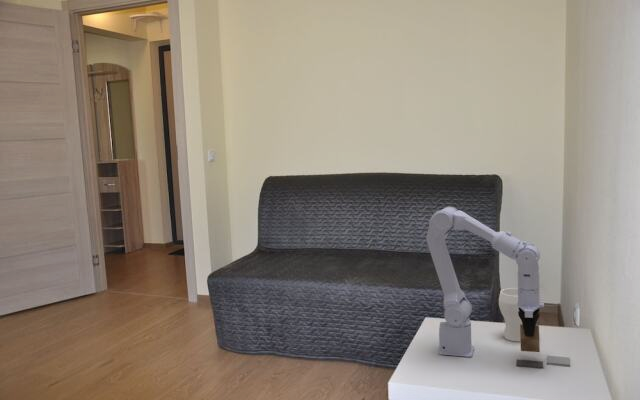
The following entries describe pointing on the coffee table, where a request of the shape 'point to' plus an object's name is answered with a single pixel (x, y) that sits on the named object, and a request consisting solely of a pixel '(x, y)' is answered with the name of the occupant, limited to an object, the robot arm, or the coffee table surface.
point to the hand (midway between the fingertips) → (529, 334)
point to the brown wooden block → (530, 340)
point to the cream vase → (510, 313)
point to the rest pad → (529, 363)
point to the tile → (558, 361)
